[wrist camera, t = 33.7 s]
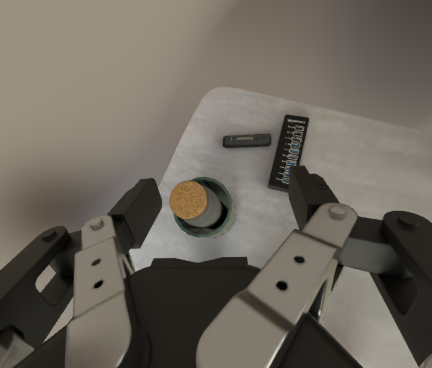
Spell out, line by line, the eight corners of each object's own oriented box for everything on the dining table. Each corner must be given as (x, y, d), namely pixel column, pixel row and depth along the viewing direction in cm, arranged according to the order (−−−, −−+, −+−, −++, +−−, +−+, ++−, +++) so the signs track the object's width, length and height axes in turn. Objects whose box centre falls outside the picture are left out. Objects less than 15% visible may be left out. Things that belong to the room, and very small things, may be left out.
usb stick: (270, 135, 42) (271, 131, 41) (270, 147, 41) (271, 144, 40) (223, 137, 44) (222, 134, 42) (223, 149, 43) (222, 146, 42)
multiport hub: (267, 187, 39) (268, 184, 37) (283, 120, 42) (285, 113, 40) (291, 193, 38) (293, 190, 36) (306, 124, 41) (309, 117, 39)
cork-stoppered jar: (194, 227, 40) (160, 220, 25) (198, 196, 41) (169, 174, 27) (224, 231, 38) (207, 226, 24) (228, 199, 40) (214, 177, 25)
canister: (216, 179, 42) (208, 165, 34) (246, 216, 39) (244, 211, 31) (179, 208, 42) (162, 201, 34) (206, 248, 39) (195, 250, 31)
